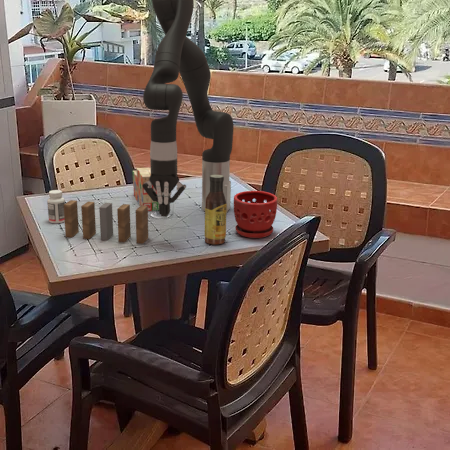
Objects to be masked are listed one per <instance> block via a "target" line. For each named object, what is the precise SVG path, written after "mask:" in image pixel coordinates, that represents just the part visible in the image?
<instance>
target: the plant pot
mask: <svg viewBox="0 0 450 450" xmlns="http://www.w3.org/2000/svg"><path fill="white" fill-rule="evenodd" d="M253 200H255V201H253ZM265 201H266V202H265ZM277 211H278V197H277V196H276V195H275V194H274V193H271V192H267V191H263V190H245V191H240V192H238V193H236V194H234V196H233V213H234V218H235V222H236V225H235V228H234V229H235V231H236V233H237V234H238V235H240V236H242V237H246V238H250V239H262V238H265V237H269V236H270V235H272V234H273V232H274V226H273V224H274V222H275V220H276V219H275V218H276V216H277Z"/></svg>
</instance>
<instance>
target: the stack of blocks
mask: <svg viewBox="0 0 450 450" xmlns="http://www.w3.org/2000/svg"><path fill="white" fill-rule="evenodd" d="M150 175H151V166H150V167H137V168H136V170H132V182H133V183H132V184H133V196H134V197H135V200H136V201H137V203H138V205H139V207H140V206H141V205H142V206H148V212H151V211H152V212H153V211H159V203H158V202H156V201H155V202H154V201H153V200H152V199H151V198H150V196H149V195H148V194H147V192H146V191H145V190H144V188H143V187H142V185H143V184H144V183H145V182H147V181H149V177H150ZM152 188H153V190H154V191H155V192H156V194H157V191H156V190H155V188H154V187H153V185H152Z"/></svg>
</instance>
